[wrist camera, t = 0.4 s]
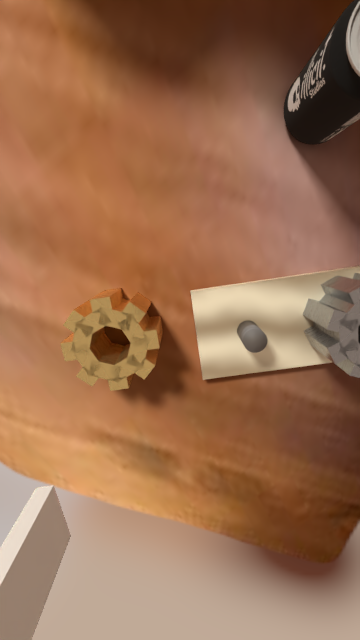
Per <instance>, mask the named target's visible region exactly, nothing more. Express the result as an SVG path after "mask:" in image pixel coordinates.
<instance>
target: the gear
mask: <svg viewBox="0 0 360 640" xmlns="http://www.w3.org/2000/svg"><path fill="white" fill-rule="evenodd" d="M321 286H322V288H323V290H324V292H325V295H324V296H323V297H322V299H321V300H320V301H317V300H313V299H310V298H309V299H308V301H307V304H306V307H305V310H304V312H303V315H304V316H306V317H307V318H309V319H311V320H312V321H313V324H314V325H313V326H312V327H310V328H308V329H306V330H304V333H305V335H306V337H307V339H308V341H309V343H310V345H312V346H313V347H314V348H315V349H317V350H318V351H319V352H320V353H322V354H323V355H324V356H325V357H327V358H328V359H329V360H330V361H332V362H333V363H334V364H335V365H337V366H338V367H340V368H341V369H342V370H343V371H345V372H346V373H347V374H349V375H350V376H354V377H358V378H360V326H359V325H360V274H359V273H355V274H354V276H353V279H352V278H347V277H343V276H338V275H337V276H335V277H333V278H331V279H330V280H328V281H326V282H324V283H322V284H321ZM358 326H359V327H358Z"/></svg>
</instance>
